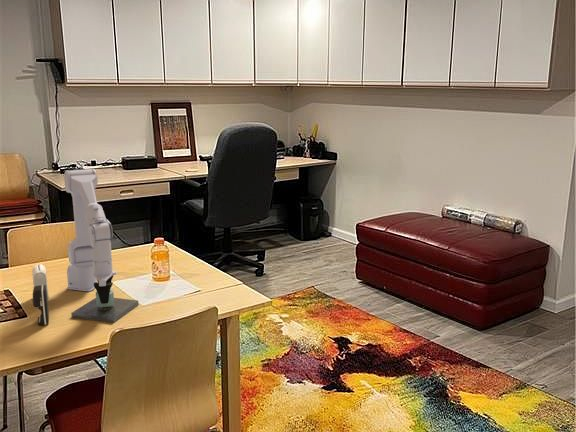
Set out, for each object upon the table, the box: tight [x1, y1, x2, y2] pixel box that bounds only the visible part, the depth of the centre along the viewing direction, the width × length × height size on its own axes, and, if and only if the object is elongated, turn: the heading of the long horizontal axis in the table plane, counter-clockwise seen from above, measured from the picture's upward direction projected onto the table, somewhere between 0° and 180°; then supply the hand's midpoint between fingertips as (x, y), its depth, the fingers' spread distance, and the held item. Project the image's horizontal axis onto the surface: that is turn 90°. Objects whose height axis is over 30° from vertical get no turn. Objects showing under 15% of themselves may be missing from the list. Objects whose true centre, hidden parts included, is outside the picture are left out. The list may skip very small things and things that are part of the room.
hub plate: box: [71, 297, 139, 324], centre depth 177 cm, size 15×15×6 cm
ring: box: [95, 288, 115, 307], centre depth 177 cm, size 5×5×4 cm
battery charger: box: [32, 285, 50, 326], centre depth 168 cm, size 7×4×11 cm, turn 22°
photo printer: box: [31, 263, 50, 303], centre depth 185 cm, size 10×4×12 cm, turn 26°
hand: (105, 299), depth 177 cm, fingers closed on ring, 5 cm apart
